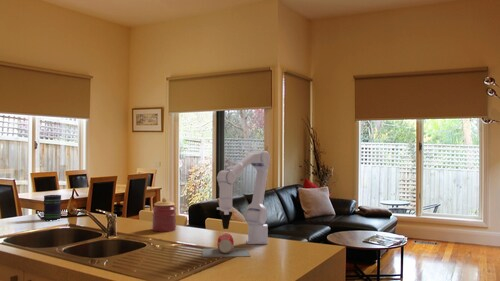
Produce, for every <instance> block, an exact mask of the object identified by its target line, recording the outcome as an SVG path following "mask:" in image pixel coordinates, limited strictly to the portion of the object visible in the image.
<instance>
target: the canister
mask: <svg viewBox="0 0 500 281" xmlns="http://www.w3.org/2000/svg"><path fill="white" fill-rule="evenodd" d="M161 199H162V200H160V201H157V202H155V203H153V205H154V207H152V225H151V226H152V227H151V228H152V229H151V230H152V231H153V232H158V231H159V232H163V233H164V232H165V233H166V232H167V231H168V232H173V231H175V230H176V228H177V223H176V222H177V213H176V209H177V206H175V205H176V203H174V202H173V201H171V200H168V198H167V197H162V198H161ZM159 232H158V233H159Z"/></svg>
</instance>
